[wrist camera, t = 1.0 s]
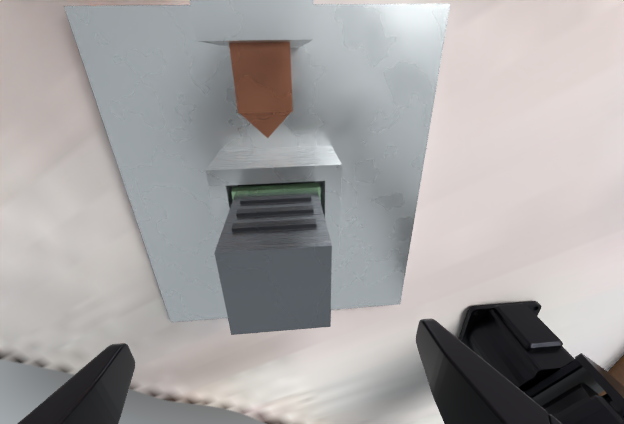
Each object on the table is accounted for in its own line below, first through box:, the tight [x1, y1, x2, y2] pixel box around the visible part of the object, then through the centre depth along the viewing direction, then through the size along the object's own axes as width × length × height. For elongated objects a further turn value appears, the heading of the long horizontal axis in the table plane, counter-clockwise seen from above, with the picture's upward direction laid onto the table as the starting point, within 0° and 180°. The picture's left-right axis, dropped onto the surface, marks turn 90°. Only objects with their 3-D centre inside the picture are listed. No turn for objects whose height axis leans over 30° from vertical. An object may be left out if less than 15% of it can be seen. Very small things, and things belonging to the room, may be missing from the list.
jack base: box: [64, 0, 450, 322], centre depth 15 cm, size 20×18×9 cm
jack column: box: [214, 181, 332, 335], centre depth 15 cm, size 4×4×8 cm
